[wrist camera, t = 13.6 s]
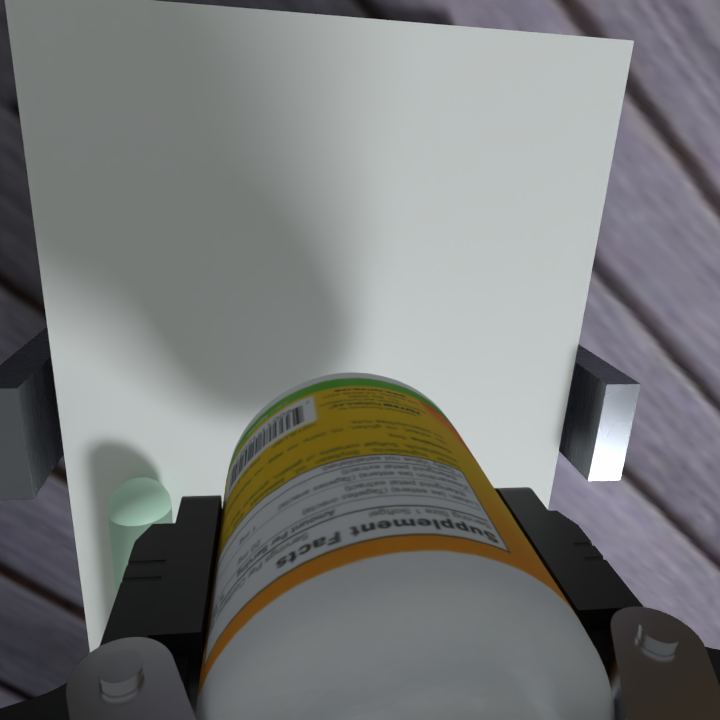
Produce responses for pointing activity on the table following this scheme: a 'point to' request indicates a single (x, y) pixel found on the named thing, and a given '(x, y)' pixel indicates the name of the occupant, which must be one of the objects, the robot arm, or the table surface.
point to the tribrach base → (45, 448)
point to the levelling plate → (300, 234)
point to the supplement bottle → (381, 575)
